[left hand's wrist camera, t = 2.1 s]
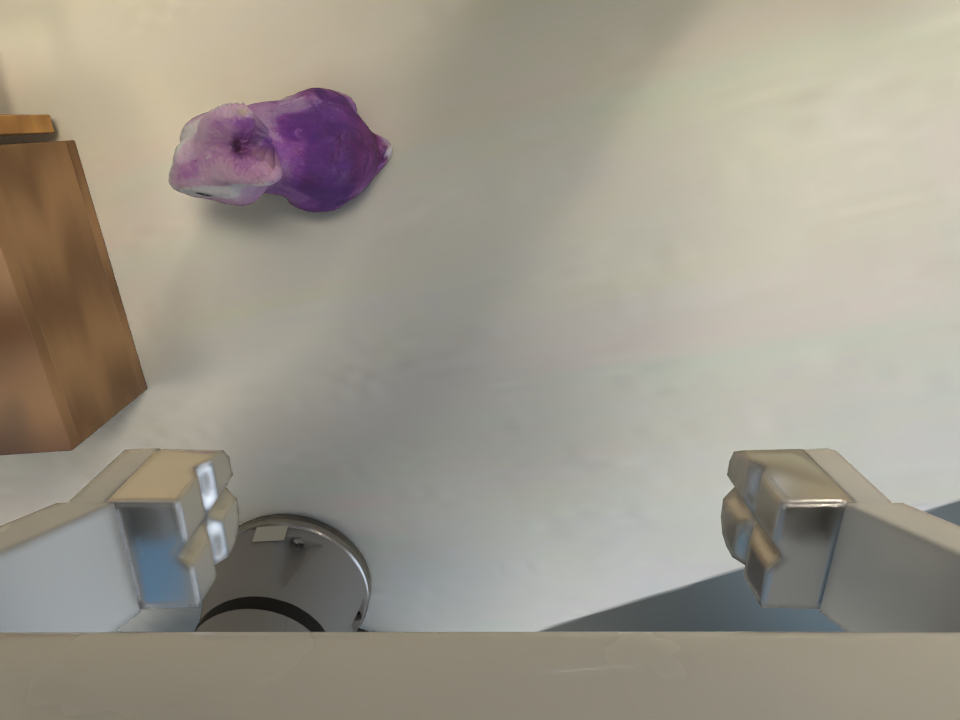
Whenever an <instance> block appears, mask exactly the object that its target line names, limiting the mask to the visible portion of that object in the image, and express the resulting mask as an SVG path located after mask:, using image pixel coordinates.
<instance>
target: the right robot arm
mask: <svg viewBox="0 0 960 720" xmlns="http://www.w3.org/2000/svg"><path fill="white" fill-rule="evenodd" d="M215 570H216V576H217V577H216V578H215V580H214V582H213V584H212V585H211V587H210V589H209V590H208V592H207V594H206V596H205V597H204V599H203V604H202V611H201V617H200V622H199V624H198V625H197V627H196V629H195V631H194V632H368V631H365V630H363V629H360V628H359V627H360V625H361V624H362V622H363V620H364V618H365V615H366V612H367V608H368V603H369V599H370V594H371V578H370V573H369V569H368V566H367V564H366V562H365V560H364V558H363V556H362V555H361V553H360V552H359V550H358V549H357V548H356V547H355V545H354V544H353V543H352V542H351V541H350V540H349V539H347V538H346V537H345V536H344V535H343V534H341V533H340V532H338V531H337V530H335V529H333V528H332V527H330V526H328V525H326V524H323V523H321V522H318V521H316V520H313V519H309V518H305V517H300V516H292V515H273V516H266V517H261V518H257V519H254V520H251V521H249V522H247V523H244V524H242V525H241V526H239V528H238V532H237V536H236V540H235V544H234V546H233V548H232V550H231V552H230V554H229V556H228V557H227V558H225V559H224V560H222V561H220V562H219V563H217V564H216V565H215Z"/></svg>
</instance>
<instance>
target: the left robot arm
mask: <svg viewBox="0 0 960 720" xmlns="http://www.w3.org/2000/svg"><path fill="white" fill-rule="evenodd" d="M232 476H233V473H232V468H231V463H230V458H229V456H228V455H227V454H226V452H225V451H224V450H181V449H162V450H161V449H159V448H158V449H131V450H124V451H123V452H122V453H121V454H120V455H119V456H118V457H117V458H116V459H115V460H114V461H112V462H111V463H110V464H109V465H108V466H107V467H106V468H105V469H104V470H103V471H102V472H101V473H99V474H98V475H97V476H96V477H95V478H94V479H93V480H92V481H91V482H90V483H89V484H88V485H87V486H85V487H84V488H83V489H82V490H81V491H80V492H79V493H78V494H77V495H76V496H75V497H74V498H72V499H71V500H70V501H69V502H68V503H56V504H54V505H51V506H49V507H46V508H44V509H41V510H39V511H37V512H34V513H32V514H29V515H27V516H24V517H22V518H19V519H17V520H14V521H12V522H10V523H7V524H5V525H2V526H0V720H960V526H958V525H955V524H953V523H950V522H948V521H945V520H943V519H941V518H938V517H936V516H933V515H931V514H928V513H926V512H923V511H921V510H919V509H916V508H914V507H911V506H909V505H906V504H904V503H892V502H891V501H890V500H889V499H888V498H886V497H885V496H884V495H883V494H882V493H881V492H880V491H879V490H878V489H877V488H876V487H875V486H874V485H872V484H871V483H870V482H869V481H868V480H867V479H866V478H865V477H864V476H863V475H862V474H861V473H860V472H858V471H857V470H856V469H855V468H854V467H853V466H852V465H851V464H850V463H849V462H848V461H847V460H846V459H844V458H843V457H842V456H841V455H840V454H839V453H838V452H837V451H835V450H832V449H828V448H825V449H784V450H743V451H735V452H733V455H732V457H731V459H730V461H729V467H728V473H727V476H728V477H729V479H730V480H731V482H732V483H733V485H734V486H735V487H734V488H733V489H732V490H731V491H730V492H729V493H728V494H727V495H726V496H725V497H724V499H723V504H722V512H721V524H722V534H723V537H724V540H725V544H726V546H727V548H728V550H729V552H730V554H731V556H732V557H733V558H735V559H736V560H738V561H740V562H741V563H743V564H744V565H745V570H744V576H743V577H744V578H745V580H746V582H747V584H748V585H749V587H750V589H751V590H752V592H753V594H754V596H755V597H756V599H757V601H758V602H759V604H760V606H761V607H762V608H798V609H820V612H821V613H822V614H823V615H825V616H826V617H827V618H829V619H830V620H831V621H833V622H834V623H835V624H837V625H838V626H839V627H841V628H842V629H843V630H845V631H846V632H114V631H116V630H117V629H118V628H120V627H121V626H122V625H124V624H125V623H126V622H128V621H129V620H130V619H132V618H133V617H134V616H136V615H137V614H138V613H140V609H161V608H197V607H199V606H200V604H201V602H202V601H203V599H204V597H205V596H206V594H207V592H208V590H209V589H210V587H211V585H212V584H213V582H214V580H215V578H216V577H217V576H216V570H215V565H216V564H217V563H219V562H220V561H222V560H224V559H225V558H227V557H228V556H229V554H230V552H231V550H232V548H233V546H234V544H235V540H236V536H237V532H238V528H239V510H238V503H237V499H236V497H235V496H234V495H233V494H232V493H231V492H230V491H229V490H228V489H227V488H226V487H225V486H226V485H227V483H228V482H229V480H230V479H231V477H232Z"/></svg>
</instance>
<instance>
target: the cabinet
mask: <svg viewBox="0 0 960 720" xmlns="http://www.w3.org/2000/svg"><path fill="white" fill-rule="evenodd" d="M146 389H147V387H146V383H145V380H144V376H143V373H142V369H141V366H140V363H139V359H138V356H137V352H136V349H135V346H134V342H133V339H132V335H131V332H130V329H129V325H128V322H127V318H126V315H125V312H124V308H123V305H122V301H121V298H120V294H119V291H118V288H117V284H116V281H115V277H114V274H113V271H112V267H111V264H110V260H109V257H108V254H107V250H106V247H105V243H104V240H103V236H102V233H101V230H100V226H99V223H98V219H97V216H96V213H95V209H94V206H93V202H92V199H91V196H90V192H89V189H88V185H87V182H86V179H85V175H84V172H83V168H82V165H81V161H80V158H79V155H78V151H77V148H76V144H75V141H73V140H71V141H54V142H38V143H22V144H6V145H0V455H10V454H24V453H39V452H53V451H68V450H73V449H74V448H75V447H77V446H78V445H79V444H80V443H82V442H83V441H84V440H85V439H87V438H88V437H89V436H90V435H91V434H93V433H94V432H95V431H96V430H97V429H99V428H100V427H101V426H102V425H104V424H105V423H106V422H107V421H108V420H110V419H111V418H112V417H113V416H115V415H116V414H117V413H118V412H119V411H121V410H122V409H123V408H124V407H126V406H127V405H128V404H129V403H130V402H132V401H133V400H134V399H135V398H137V397H138V396H139V395H140V394H141V393H142V392H144V391H145V390H146Z"/></svg>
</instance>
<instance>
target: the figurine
mask: <svg viewBox="0 0 960 720" xmlns="http://www.w3.org/2000/svg"><path fill="white" fill-rule="evenodd" d="M392 150H393V149H392V146H391V144H390V143H389V141H388V140H387V139H385V138H383V137H381V136H378V135H376V134H374V133H373V132H372V131H370V129H369V128H368V126H367V125H366V124H365V123H364V121H363V120H362V119H361V118H360V116H359V115H358V114H357V110H356V105H355V103H354V102H353V100H352V99H351V98H350V97H349V96H347V95H345V94H342V93H340V92H336V91H333V90H329V89H322V88H310V89H307V90H304V91H301V92H299V93H297V94H295V95H291V96H288V97H286V98H284V99H282V100H280V101H269V102H260V103H254V104H250V105H247V106H246V105H245V104H244V103H242V104H238V103H235V104H233V103H230V104H223V105H221V106H220V107H219V106H218V107H216V108H215V109H212V110H211V111H209V112H207V113H204V114H201V115H198V116H196V117H194V118H192V119H191V120H190V121H189V122H188V123H186V124H185V126H184V127H183V129H182V131H181V135H180V143H179V145H178V146H177V147H176V149H175V153H174V157H173V163H172V166H171V169H170V172H169V184H170V185H171V186H172V188H173V189H175V190H176V191H178V192H181V193H184V194H187V195H189V196H192V197H198V198H205V199H210V200H215V201H218V202H221V203H225V204H231V205H240V206H243V205H248V204H251V203H253V202H255V201H256V200H257V199H259V198H260V197H261V196H262V194H263V193H267V194H276V195H281V196H283V197H286V198H287V199H288V202H289V203H290V204H291V205H293V206H295V207H297V208H299V209H302V210H305V211H309V212H328V211H332V210H336V209H338V208H340V207H341V206H343V205H344V204H346V203H347V202H349V201H350V200H351V199H353V198H354V197H355V196H357V195H358V194H359V193H361V192H362V191H363V190H364V189H365V188H366V187H367V186H368V185H369V183H370V182H371V180H372V179H373V178H374V177H375V175H376V174H377V173H378V172H379V171H380V170H381V169H382V168H383V167H384V166H385V164H386V163H387V162H388V160H389V159H390V157H391V154H392Z"/></svg>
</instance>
